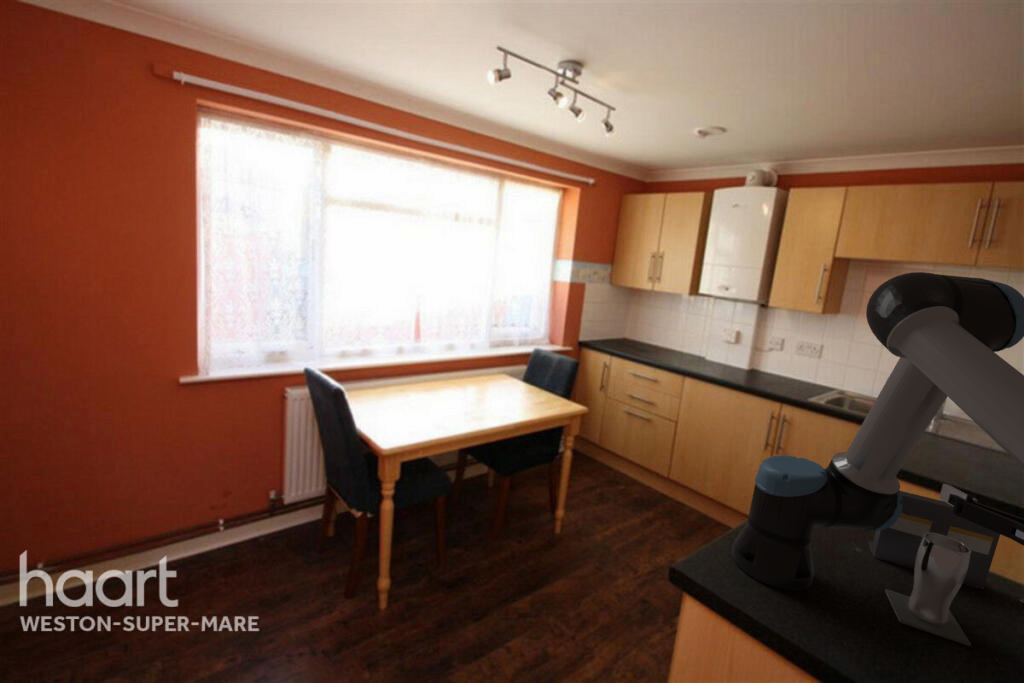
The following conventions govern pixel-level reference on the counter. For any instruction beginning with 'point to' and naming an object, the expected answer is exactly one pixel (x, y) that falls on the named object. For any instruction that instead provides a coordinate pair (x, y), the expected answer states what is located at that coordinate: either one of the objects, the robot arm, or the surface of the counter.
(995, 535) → the label panel
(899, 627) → the counter surface
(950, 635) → the rubber mat
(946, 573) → the beer glass
